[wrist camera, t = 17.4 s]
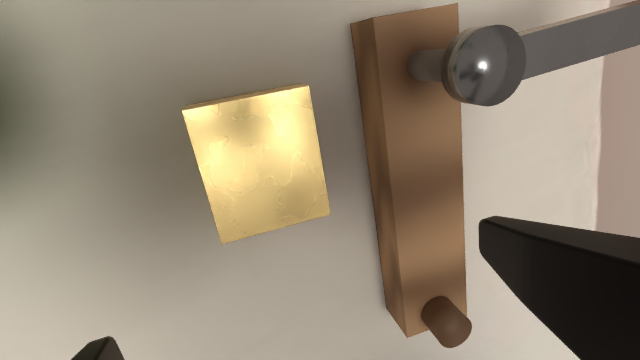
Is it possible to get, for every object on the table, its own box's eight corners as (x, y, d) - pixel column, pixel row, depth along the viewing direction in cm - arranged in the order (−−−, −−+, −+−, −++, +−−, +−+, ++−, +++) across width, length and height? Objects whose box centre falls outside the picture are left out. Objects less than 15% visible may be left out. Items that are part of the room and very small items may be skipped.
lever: (688, -29, 15) (724, -36, 14) (679, 39, 16) (712, 37, 15) (437, 37, 13) (456, 35, 12) (444, 110, 14) (463, 114, 13)
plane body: (440, 289, 27) (507, 356, 21) (386, 308, 26) (439, 383, 20) (424, 11, 20) (515, -11, 14) (350, 24, 19) (413, 6, 13)
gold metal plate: (319, 198, 22) (330, 214, 20) (221, 224, 21) (221, 244, 19) (298, 83, 20) (308, 85, 17) (186, 104, 19) (181, 110, 16)
